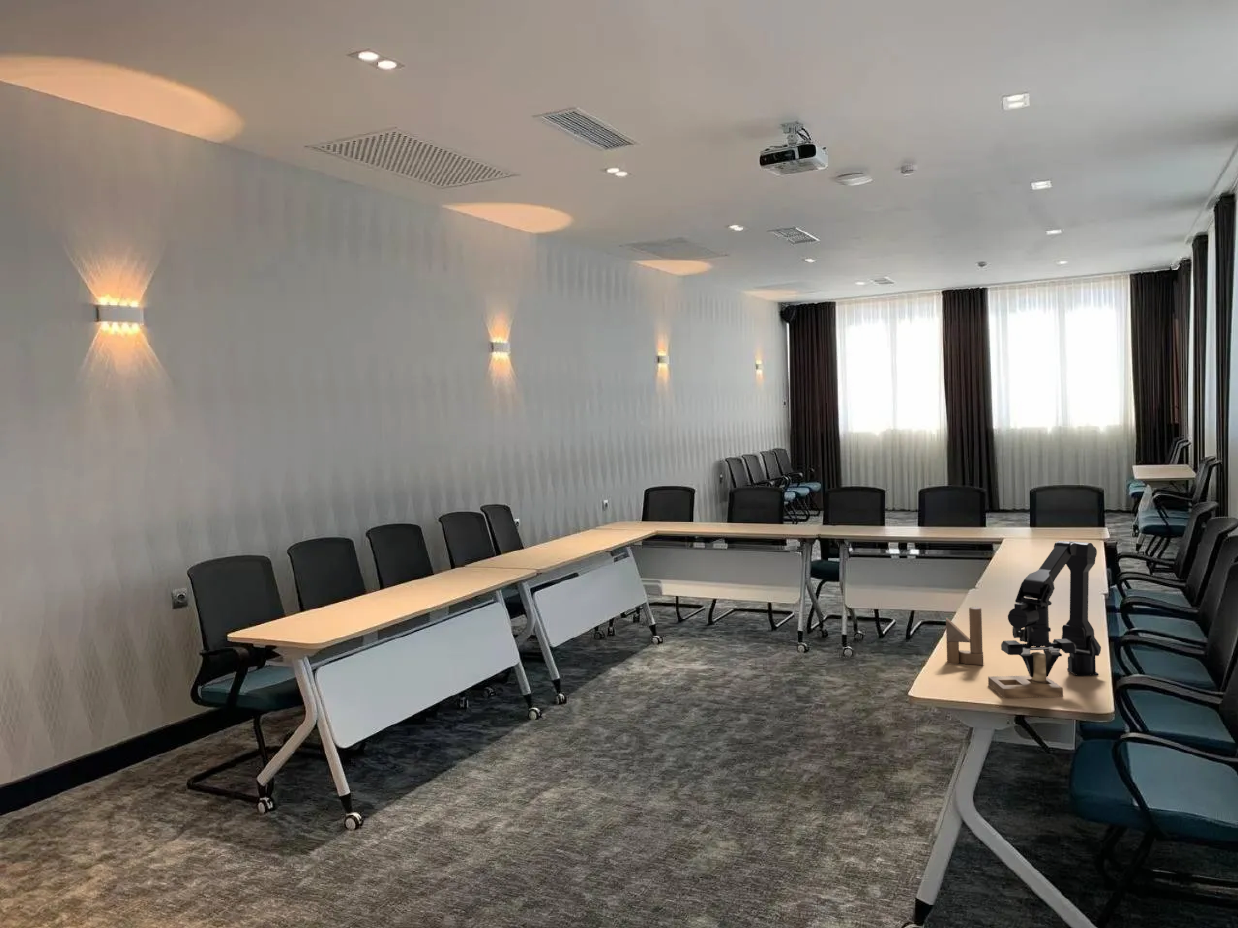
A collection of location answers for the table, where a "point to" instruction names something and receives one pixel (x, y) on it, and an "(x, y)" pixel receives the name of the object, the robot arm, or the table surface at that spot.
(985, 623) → the table surface
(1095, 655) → the robot arm
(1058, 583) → the table surface
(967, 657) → the wooden block structure
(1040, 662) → the dowel
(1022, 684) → the board
